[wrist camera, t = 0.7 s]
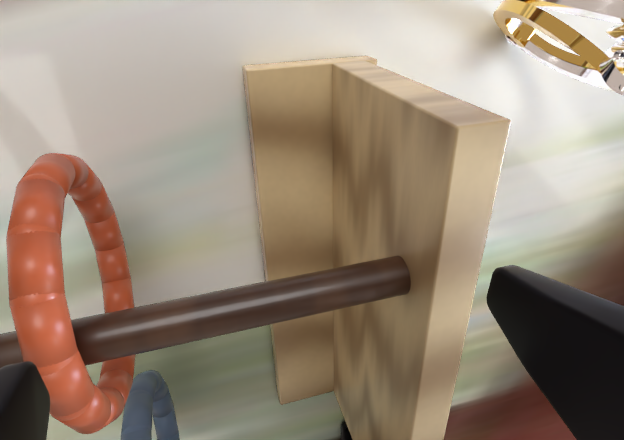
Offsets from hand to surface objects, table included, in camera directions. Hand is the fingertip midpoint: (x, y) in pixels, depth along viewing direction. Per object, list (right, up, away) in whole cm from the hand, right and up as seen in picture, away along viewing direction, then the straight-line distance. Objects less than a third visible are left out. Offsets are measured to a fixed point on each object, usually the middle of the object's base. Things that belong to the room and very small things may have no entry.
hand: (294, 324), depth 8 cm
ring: (+11, +12, +14) cm, 21 cm away
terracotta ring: (-8, 0, +7) cm, 10 cm away
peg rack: (-5, -1, +15) cm, 16 cm away
